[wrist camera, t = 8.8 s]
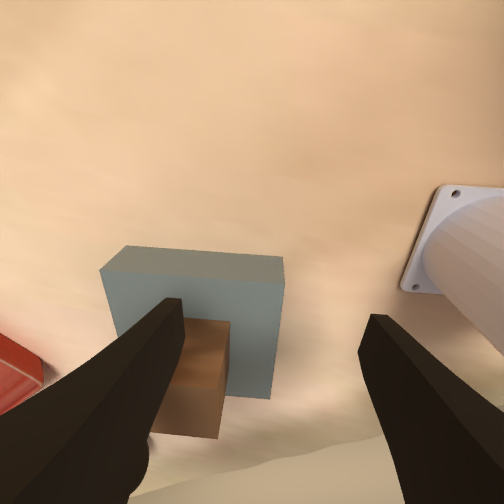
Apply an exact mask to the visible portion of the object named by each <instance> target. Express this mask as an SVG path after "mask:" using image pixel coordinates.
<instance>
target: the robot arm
mask: <svg viewBox="0 0 504 504" xmlns="http://www.w3.org/2000/svg"><path fill="white" fill-rule="evenodd" d="M455 190H457V192H456V194H455V195H454V196H451V194H452V192H453V191H455ZM415 284H417V285H416V286H414V287H412V286H413V285H415ZM400 287H401V289H402V290H403V291H406V292H417V293H430V294H443V295H445V297H446V298H447V299H448V300H449V301H450V302H451V303H452V304H453V305H454V306H455V307H456V308H457V309H458V310H459V311H460V312H461V313H462V314H463V315H464V316H465V317H466V318H467V319H468V320H469V321H470V322H471V323H472V324H473V325H474V326H475V328H476V329H477V330H478V331H479V332H480V333H481V334H482V335H483V336H484V337H485V338H486V339H487V340H488V341H489V342H490V343H491V344H492V345H493V346H494V347H495V348H496V349H497V350H498V351H499V352H500V353H501V354H502V355H503V356H504V188H501V187H485V186H469V185H453V184H445V185H442V186H440V187H439V188H438V189H437V191H436V193H435V196H434V198H433V201H432V203H431V206H430V208H429V211H428V213H427V216H426V219H425V221H424V224H423V226H422V229H421V231H420V234H419V236H418V239H417V241H416V244H415V247H414V249H413V252H412V254H411V257H410V259H409V262H408V264H407V267H406V269H405V272H404V275H403V277H402V280H401V282H400ZM185 337H186V336H185V327H184V317H183V307H182V298H169V297H166V298H165V299H163V300H162V301H161V302H160V303H159V304H157V305H156V306H155V307H154V308H153V309H152V310H151V311H149V312H148V313H147V314H146V315H145V316H144V317H143V318H141V319H140V320H139V321H138V322H137V323H136V324H134V325H133V326H132V327H131V328H130V329H128V330H127V331H126V332H125V333H124V334H122V335H121V336H120V337H119V338H117V339H116V340H115V341H114V342H112V343H111V344H110V345H108V346H107V347H106V348H104V349H103V350H102V351H101V352H99V353H98V354H97V355H95V356H94V357H93V358H91V359H90V360H88V361H87V362H86V363H84V364H83V365H81V366H80V367H78V368H77V369H75V370H74V371H72V372H71V373H69V374H68V375H66V376H65V377H63V378H62V379H60V380H59V381H57V382H56V383H54V384H52V385H51V386H49V387H47V388H46V389H44V390H42V391H41V392H39V393H37V394H36V395H34V396H32V397H31V398H29V399H27V400H26V401H24V402H22V403H21V404H19V405H17V406H16V407H14V408H12V409H10V410H9V411H7V412H5V413H3V414H1V415H0V504H127V502H128V499H129V496H130V492H131V489H132V486H133V482H134V479H135V476H136V473H137V469H138V466H139V463H140V460H141V457H142V454H143V451H144V448H145V445H146V441H147V438H148V436H149V433H150V430H151V428H152V425H153V422H154V420H155V418H156V415H157V413H158V410H159V408H160V406H161V403H162V401H163V398H164V396H165V394H166V391H167V389H168V386H169V384H170V382H171V379H172V377H173V374H174V372H175V369H176V367H177V365H178V362H179V359H180V355H181V352H182V348H183V345H184V341H185ZM358 356H359V361H360V365H361V369H362V373H363V377H364V381H365V384H366V386H367V389H368V392H369V395H370V397H371V400H372V403H373V406H374V408H375V411H376V414H377V416H378V419H379V422H380V424H381V427H382V430H383V432H384V435H385V438H386V440H387V443H388V446H389V449H390V452H391V455H392V458H393V461H394V465H395V468H396V472H397V475H398V479H399V482H400V486H401V490H402V493H403V497H404V501H405V504H504V412H502V411H501V410H499V409H498V408H497V407H495V406H494V405H493V404H491V403H490V402H489V401H487V400H486V399H485V398H484V397H482V396H481V395H480V394H478V393H477V392H476V391H475V390H474V389H472V388H471V387H470V386H469V385H467V384H466V383H465V382H464V381H462V380H461V379H460V378H459V377H458V376H456V375H455V374H454V373H453V372H452V371H450V370H449V369H448V368H447V367H446V366H444V365H443V364H442V363H441V362H440V361H439V360H438V359H436V358H435V357H434V356H433V355H432V354H431V353H430V352H428V351H427V350H426V349H425V348H424V347H423V346H422V345H421V344H420V343H418V342H417V341H416V340H415V339H414V338H413V337H412V336H411V335H410V334H409V333H407V332H406V331H405V330H404V329H403V328H402V327H401V326H400V325H399V324H397V323H396V322H395V321H394V320H393V319H392V318H390V317H389V316H388V315H381V314H371V315H370V318H369V321H368V323H367V326H366V329H365V332H364V335H363V338H362V340H361V343H360V346H359V349H358Z"/></svg>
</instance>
